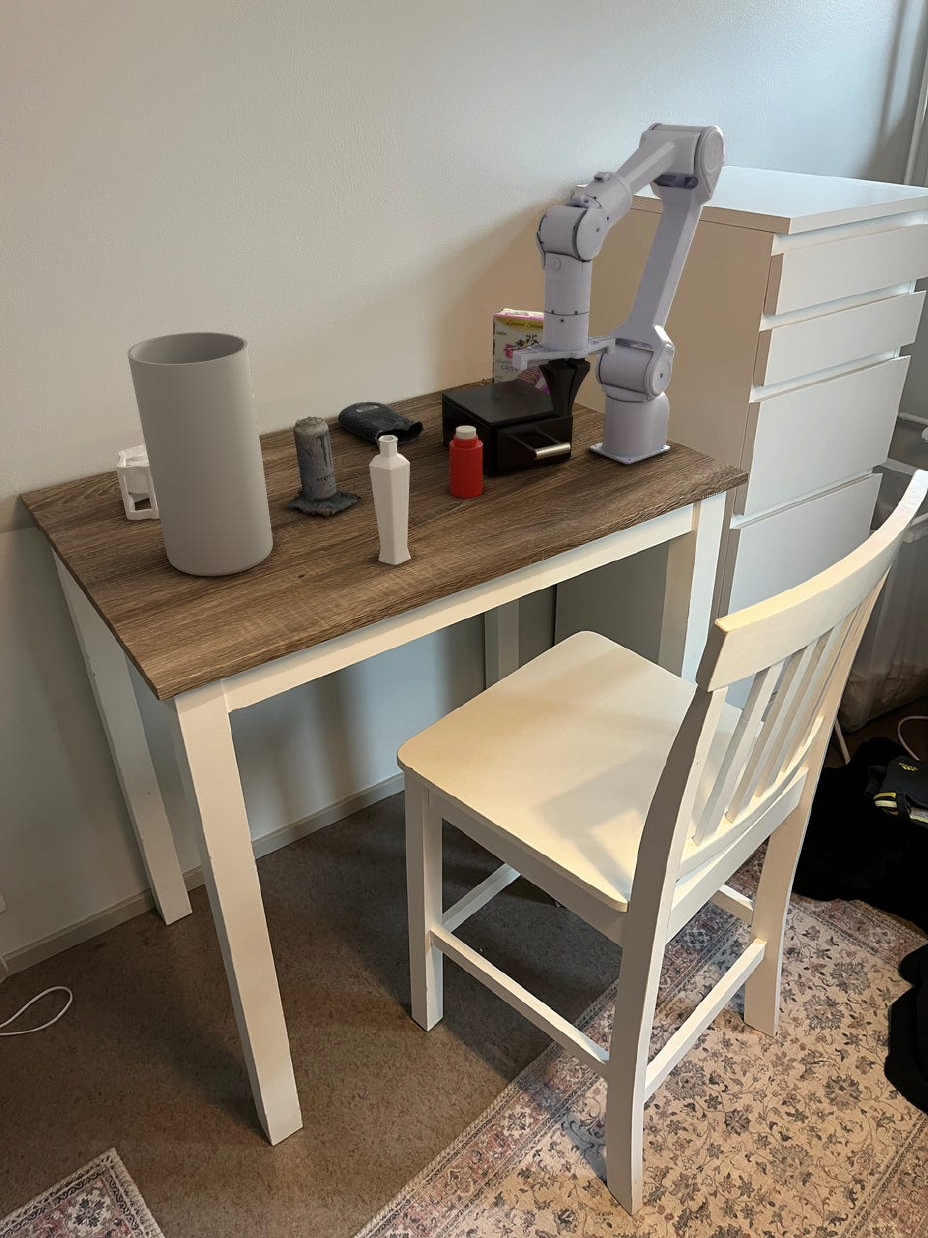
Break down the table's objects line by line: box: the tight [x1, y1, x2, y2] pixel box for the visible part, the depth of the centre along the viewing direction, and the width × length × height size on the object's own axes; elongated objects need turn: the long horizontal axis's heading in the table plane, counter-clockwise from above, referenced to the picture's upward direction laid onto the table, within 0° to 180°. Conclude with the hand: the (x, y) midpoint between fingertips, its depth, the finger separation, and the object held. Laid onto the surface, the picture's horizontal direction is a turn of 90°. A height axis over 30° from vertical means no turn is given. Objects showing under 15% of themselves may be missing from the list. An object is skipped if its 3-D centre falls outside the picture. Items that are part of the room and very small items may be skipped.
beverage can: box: [287, 415, 363, 518], centre depth 123 cm, size 9×8×12 cm
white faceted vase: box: [368, 435, 412, 566], centre depth 110 cm, size 5×4×15 cm
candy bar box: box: [491, 308, 550, 394], centre depth 151 cm, size 11×5×16 cm, turn 66°
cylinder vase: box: [127, 331, 274, 577], centre depth 108 cm, size 12×12×25 cm
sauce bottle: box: [449, 426, 483, 499], centre depth 128 cm, size 4×4×9 cm
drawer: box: [493, 414, 574, 473], centre depth 137 cm, size 18×12×6 cm
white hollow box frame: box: [115, 443, 160, 521], centre depth 128 cm, size 20×11×7 cm, turn 123°
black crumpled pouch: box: [337, 401, 425, 450], centre depth 149 cm, size 9×6×15 cm
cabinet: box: [441, 379, 573, 478], centre depth 140 cm, size 15×14×8 cm
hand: (561, 414), depth 126 cm, fingers closed
